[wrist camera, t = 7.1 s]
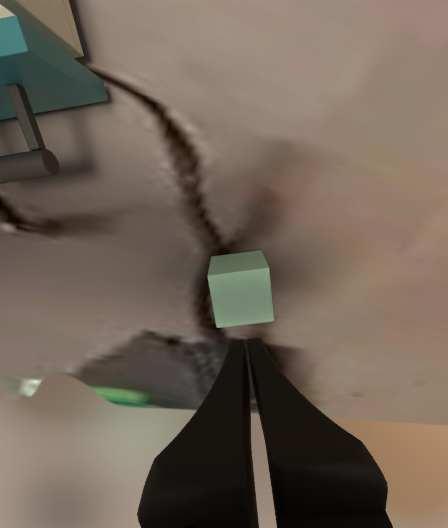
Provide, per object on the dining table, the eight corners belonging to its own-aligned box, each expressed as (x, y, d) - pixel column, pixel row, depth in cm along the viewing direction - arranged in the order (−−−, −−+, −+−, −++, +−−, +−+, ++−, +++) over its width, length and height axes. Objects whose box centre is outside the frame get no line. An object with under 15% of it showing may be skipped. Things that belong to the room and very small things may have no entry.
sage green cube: (218, 300, 23) (216, 328, 19) (211, 256, 22) (207, 275, 18) (265, 295, 23) (274, 321, 19) (261, 249, 22) (269, 267, 17)
